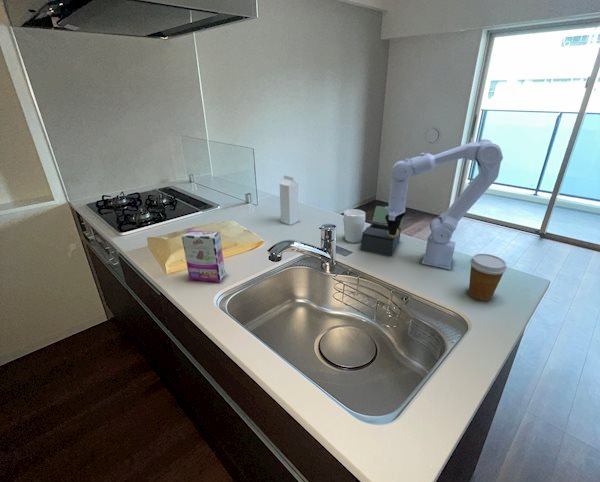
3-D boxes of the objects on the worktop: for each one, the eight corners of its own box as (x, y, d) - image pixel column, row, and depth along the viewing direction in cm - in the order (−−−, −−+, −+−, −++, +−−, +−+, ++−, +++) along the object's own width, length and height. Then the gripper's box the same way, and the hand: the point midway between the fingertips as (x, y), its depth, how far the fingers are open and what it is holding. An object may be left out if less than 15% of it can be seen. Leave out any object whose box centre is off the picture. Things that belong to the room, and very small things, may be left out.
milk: (289, 225, 151) (288, 179, 141) (280, 221, 155) (278, 176, 145) (298, 221, 155) (297, 176, 145) (289, 218, 159) (288, 174, 149)
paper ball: (399, 236, 119) (400, 226, 117) (397, 240, 116) (398, 230, 114) (388, 234, 121) (389, 224, 119) (386, 238, 117) (387, 228, 116)
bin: (370, 236, 138) (372, 220, 135) (399, 242, 133) (401, 225, 130) (360, 250, 127) (362, 232, 123) (391, 256, 121) (393, 238, 118)
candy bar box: (226, 275, 110) (220, 231, 103) (220, 282, 106) (214, 237, 99) (195, 272, 112) (188, 229, 105) (188, 280, 108) (180, 235, 101)
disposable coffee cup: (460, 298, 97) (469, 263, 92) (464, 283, 104) (472, 250, 99) (496, 307, 92) (507, 271, 87) (498, 291, 100) (508, 257, 95)
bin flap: (372, 221, 134) (372, 221, 135) (401, 225, 129) (401, 226, 130) (376, 205, 135) (376, 206, 136) (405, 209, 130) (405, 210, 131)
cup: (357, 246, 130) (359, 218, 125) (338, 240, 135) (339, 213, 130) (367, 238, 136) (369, 211, 131) (348, 233, 141) (350, 207, 136)
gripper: (391, 189, 119) (387, 223, 125) (381, 200, 107) (377, 237, 113) (410, 192, 116) (405, 226, 122) (402, 203, 104) (397, 241, 110)
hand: (393, 232), depth 117 cm, fingers closed on paper ball, 4 cm apart
